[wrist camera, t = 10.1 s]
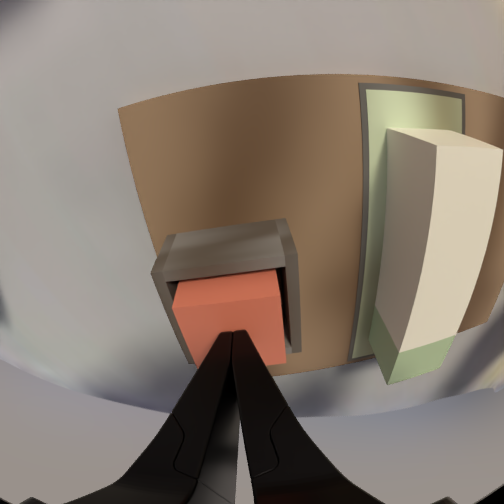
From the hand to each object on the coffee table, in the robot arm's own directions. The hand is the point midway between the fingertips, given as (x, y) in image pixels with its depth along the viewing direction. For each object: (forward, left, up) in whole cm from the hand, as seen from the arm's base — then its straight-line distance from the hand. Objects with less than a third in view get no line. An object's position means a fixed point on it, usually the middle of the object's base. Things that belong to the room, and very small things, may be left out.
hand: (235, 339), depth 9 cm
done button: (0, 0, -2) cm, 2 cm away
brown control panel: (-6, -3, -4) cm, 8 cm away
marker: (-7, -4, -4) cm, 9 cm away
